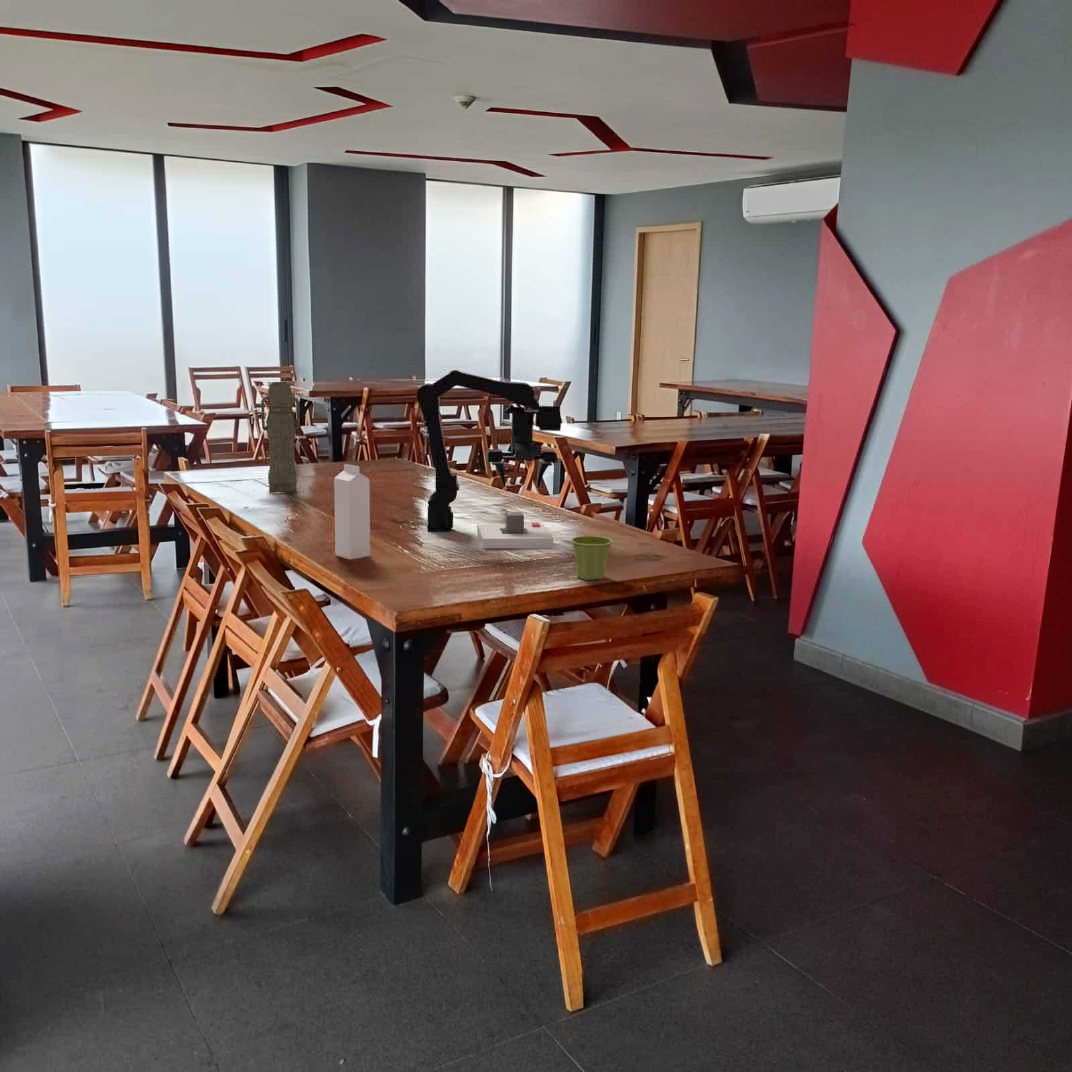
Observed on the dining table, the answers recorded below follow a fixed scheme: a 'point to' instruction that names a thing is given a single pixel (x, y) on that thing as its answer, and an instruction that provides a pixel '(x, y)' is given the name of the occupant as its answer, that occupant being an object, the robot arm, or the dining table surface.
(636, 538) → the dining table surface
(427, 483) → the dining table surface
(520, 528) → the plug
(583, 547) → the plant pot
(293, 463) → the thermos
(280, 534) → the dining table surface
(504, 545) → the socket plate
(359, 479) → the milk
